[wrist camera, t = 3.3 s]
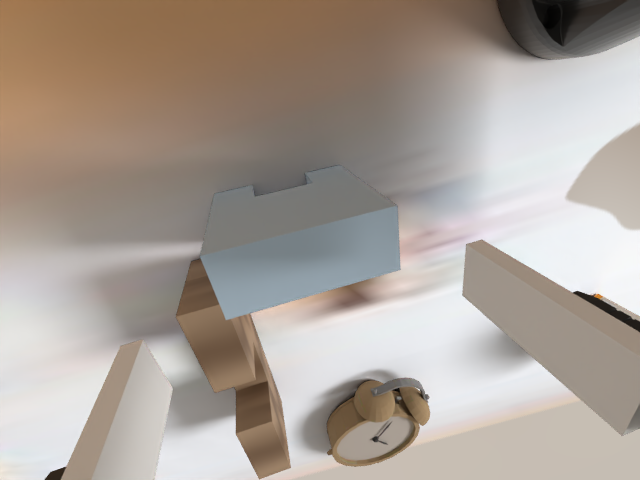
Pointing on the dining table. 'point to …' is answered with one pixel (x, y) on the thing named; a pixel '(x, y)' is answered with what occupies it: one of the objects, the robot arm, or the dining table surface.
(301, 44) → the dining table surface
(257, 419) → the walnut rail
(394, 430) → the alarm clock
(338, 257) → the slotted blue block
